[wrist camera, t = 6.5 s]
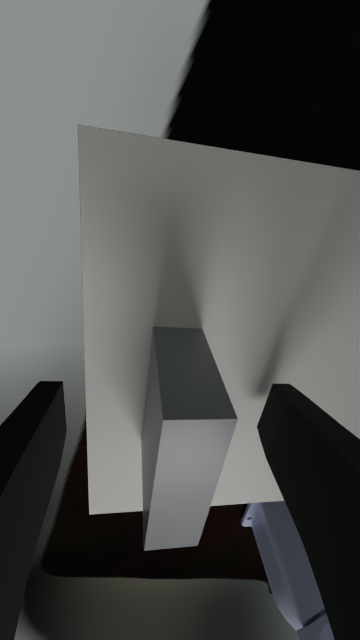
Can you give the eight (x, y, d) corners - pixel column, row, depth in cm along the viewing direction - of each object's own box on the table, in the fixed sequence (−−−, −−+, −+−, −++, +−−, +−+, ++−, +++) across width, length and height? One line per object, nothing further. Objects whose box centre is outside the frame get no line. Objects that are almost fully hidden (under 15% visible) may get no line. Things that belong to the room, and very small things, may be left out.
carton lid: (362, 481, 16) (429, 577, 12) (91, 498, 13) (75, 625, 10) (558, 204, 9) (835, 237, 6) (82, 127, 7) (19, 93, 3)
